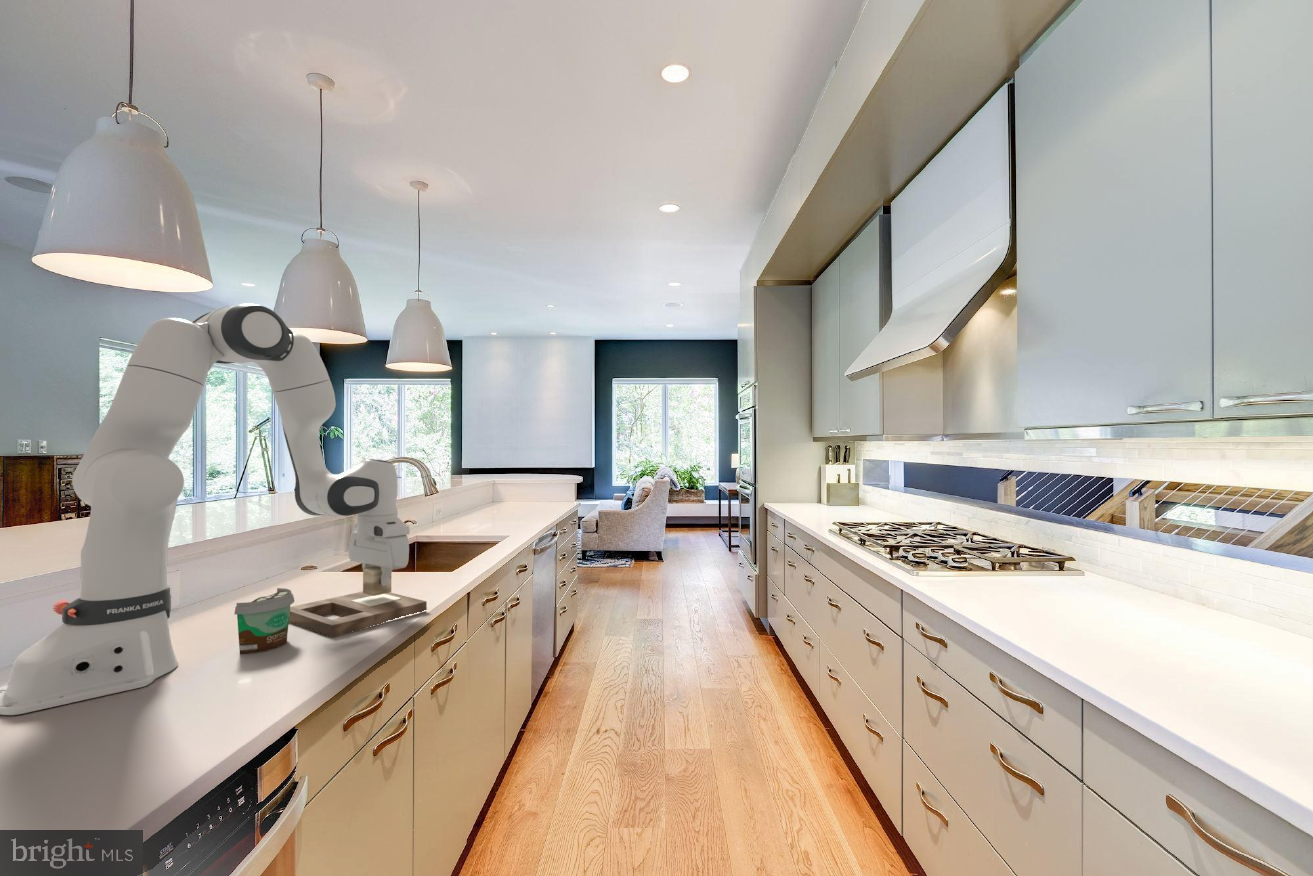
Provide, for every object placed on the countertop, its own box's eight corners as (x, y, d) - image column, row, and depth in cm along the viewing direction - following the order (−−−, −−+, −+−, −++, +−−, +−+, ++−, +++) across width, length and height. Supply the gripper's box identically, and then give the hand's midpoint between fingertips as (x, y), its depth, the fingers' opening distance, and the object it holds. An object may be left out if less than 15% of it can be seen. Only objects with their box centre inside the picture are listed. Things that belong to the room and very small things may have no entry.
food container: (265, 657, 107) (266, 603, 107) (233, 657, 107) (234, 603, 107) (307, 635, 119) (308, 587, 119) (278, 635, 119) (279, 587, 119)
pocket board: (332, 637, 118) (332, 624, 118) (282, 619, 130) (282, 607, 130) (426, 611, 136) (426, 600, 136) (375, 598, 148) (375, 588, 148)
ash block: (373, 596, 134) (373, 570, 134) (363, 593, 137) (363, 568, 137) (391, 592, 138) (391, 567, 138) (380, 589, 140) (381, 565, 140)
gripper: (341, 524, 140) (341, 580, 140) (389, 531, 129) (388, 591, 129) (366, 521, 146) (366, 575, 146) (414, 527, 134) (413, 586, 134)
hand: (377, 583), depth 137 cm, fingers closed on ash block, 4 cm apart
